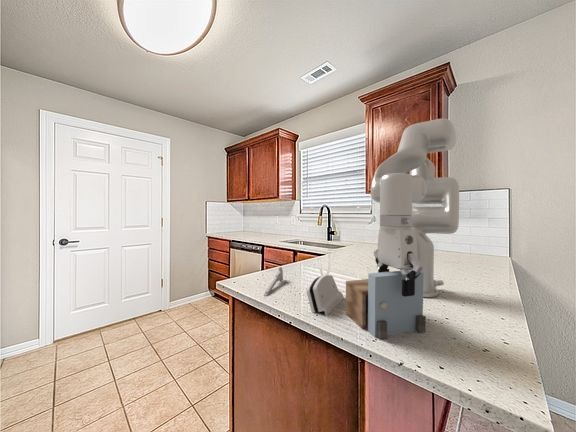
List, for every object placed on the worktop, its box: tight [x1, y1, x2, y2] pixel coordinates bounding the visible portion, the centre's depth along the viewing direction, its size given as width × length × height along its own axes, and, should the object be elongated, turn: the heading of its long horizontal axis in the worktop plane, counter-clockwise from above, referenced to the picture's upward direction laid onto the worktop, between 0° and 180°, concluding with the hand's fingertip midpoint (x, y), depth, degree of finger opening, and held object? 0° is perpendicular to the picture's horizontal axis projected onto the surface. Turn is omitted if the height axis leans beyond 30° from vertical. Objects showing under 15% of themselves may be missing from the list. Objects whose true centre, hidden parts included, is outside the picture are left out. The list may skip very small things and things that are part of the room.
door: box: [367, 270, 424, 338], centre depth 61 cm, size 4×14×15 cm, turn 104°
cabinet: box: [345, 278, 427, 340], centre depth 66 cm, size 14×16×10 cm
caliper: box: [263, 266, 284, 297], centre depth 96 cm, size 20×1×6 cm, turn 164°
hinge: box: [306, 274, 344, 316], centre depth 79 cm, size 17×5×10 cm, turn 150°
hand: (395, 289), depth 61 cm, fingers open, 8 cm apart
